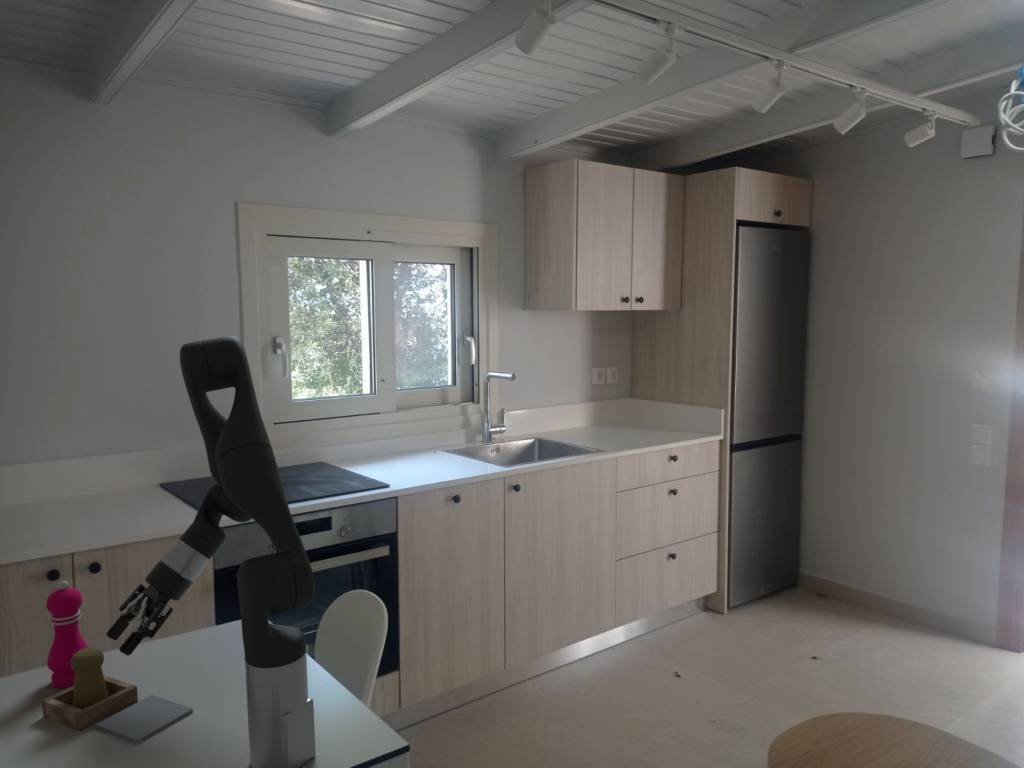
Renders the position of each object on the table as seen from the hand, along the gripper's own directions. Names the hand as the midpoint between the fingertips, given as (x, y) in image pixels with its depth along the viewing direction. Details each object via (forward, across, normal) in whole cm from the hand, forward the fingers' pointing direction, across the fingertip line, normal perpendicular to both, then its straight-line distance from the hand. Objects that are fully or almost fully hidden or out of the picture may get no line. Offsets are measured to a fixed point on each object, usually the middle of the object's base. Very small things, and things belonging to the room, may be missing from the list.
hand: (116, 645), depth 138 cm
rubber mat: (+6, +11, +8) cm, 15 cm away
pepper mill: (+11, -15, +4) cm, 19 cm away
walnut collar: (+11, 0, +4) cm, 11 cm away
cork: (+11, 0, +4) cm, 12 cm away
